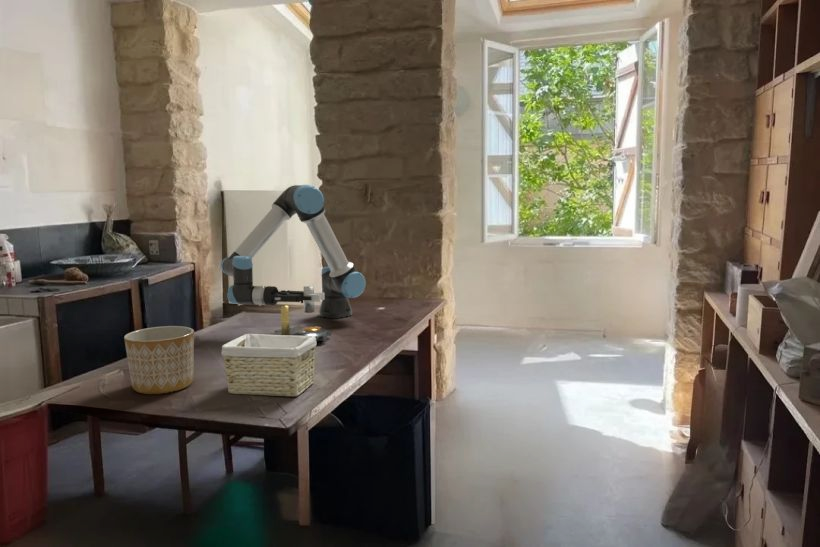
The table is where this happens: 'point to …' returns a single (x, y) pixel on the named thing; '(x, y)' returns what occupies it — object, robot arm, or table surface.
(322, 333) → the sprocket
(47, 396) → the table surface
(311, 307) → the roller
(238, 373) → the storage basket
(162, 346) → the planter
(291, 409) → the table surface
